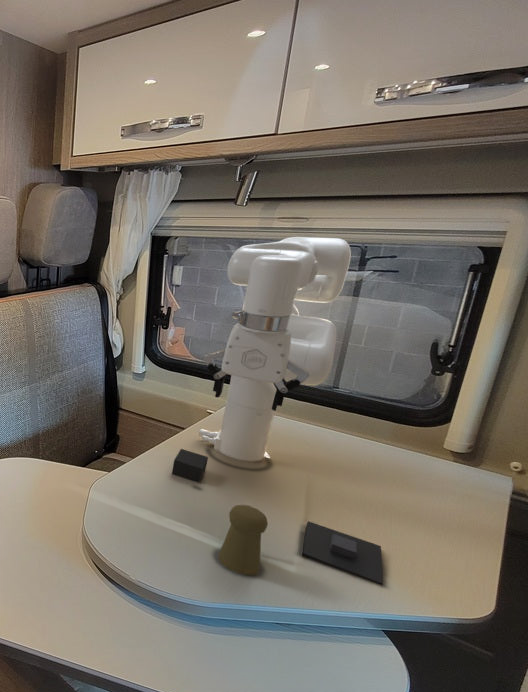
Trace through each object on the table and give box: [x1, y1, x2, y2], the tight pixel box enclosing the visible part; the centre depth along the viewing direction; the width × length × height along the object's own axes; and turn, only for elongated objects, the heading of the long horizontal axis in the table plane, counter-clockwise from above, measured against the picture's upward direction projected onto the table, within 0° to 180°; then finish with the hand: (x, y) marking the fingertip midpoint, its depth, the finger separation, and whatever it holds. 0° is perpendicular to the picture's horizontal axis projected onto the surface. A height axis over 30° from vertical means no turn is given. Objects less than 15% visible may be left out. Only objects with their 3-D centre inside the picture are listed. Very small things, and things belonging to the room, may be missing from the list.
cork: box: [217, 504, 269, 576], centre depth 76 cm, size 6×6×11 cm
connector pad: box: [171, 448, 209, 484], centre depth 101 cm, size 6×6×4 cm
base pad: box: [301, 520, 383, 586], centre depth 78 cm, size 10×10×2 cm
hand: (245, 401), depth 93 cm, fingers open, 9 cm apart
